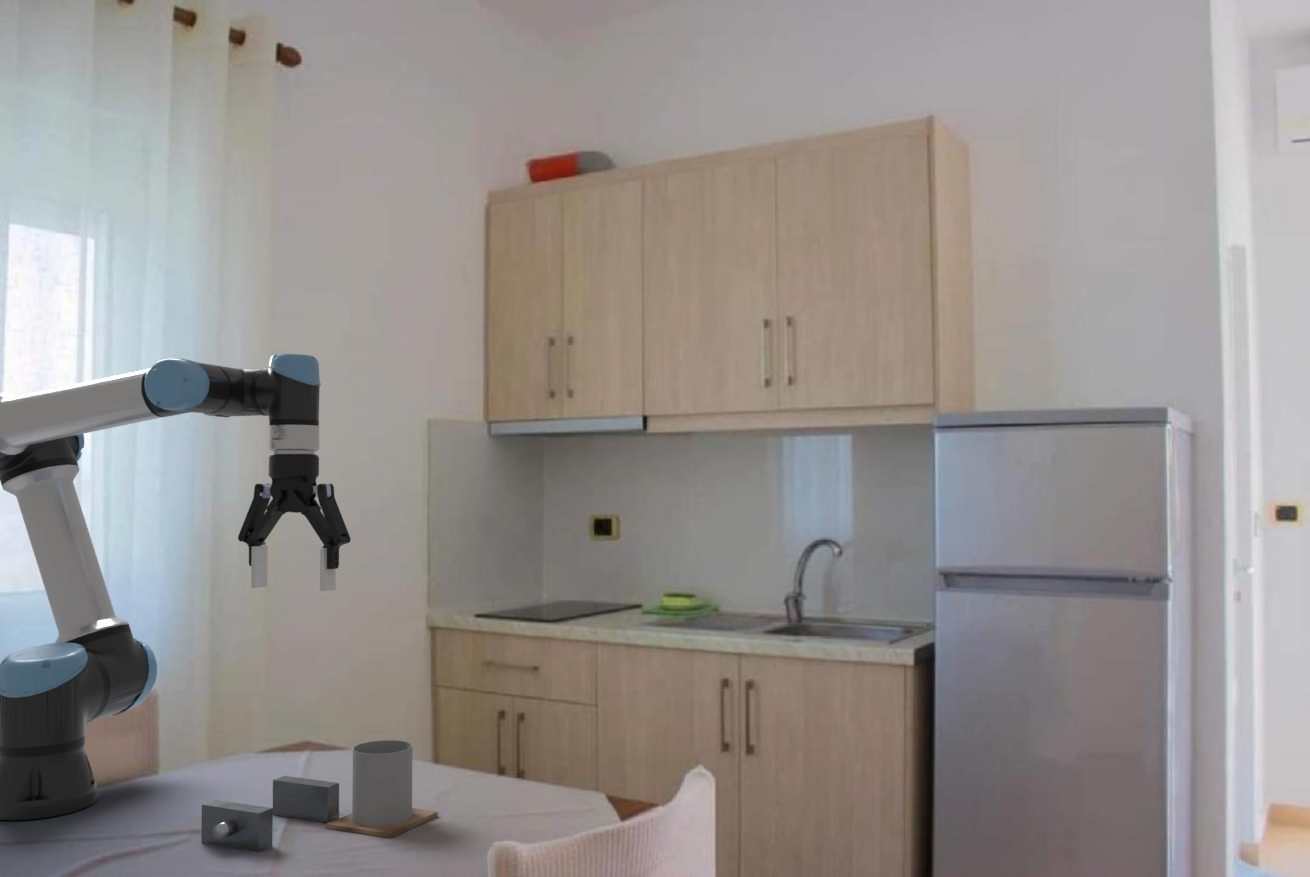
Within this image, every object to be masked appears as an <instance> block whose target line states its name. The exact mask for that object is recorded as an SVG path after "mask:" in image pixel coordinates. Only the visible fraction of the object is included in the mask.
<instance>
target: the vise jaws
mask: <svg viewBox="0 0 1310 877" xmlns="http://www.w3.org/2000/svg"><path fill="white" fill-rule="evenodd" d="M274 816H281V817H286V818H292V819H300V820H306V821H313V822H320V823H325V824H327V823H330V822H332V821H334V820H337V819H339V818H340V783H339V782H334V781H326V780H319V779H311V778H306V777H305V778H303V777H298V776H297V777H296V776H290V775H284V776H280V777H277V778H275V779H273V780H272V807H267V806H260V805H254V804H247V803H242V802H241V803H240V802H234V801H227V800H221V799H214V800H211V801H209V802H206V803H203V804H201V832H200V833H201V835H200V836H201V841H200V842H201V843H204V844H211V845H216V846H223V847H228V848H236V849H239V850H246V851H251V852H258V853H260V852H261V851H264V850H267V849H268V848H269V849H270V848H271V847H273V827H274V824H273V822H274V820H273V818H274Z"/></svg>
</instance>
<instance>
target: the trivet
mask: <svg viewBox="0 0 1310 877" xmlns="http://www.w3.org/2000/svg"><path fill="white" fill-rule="evenodd" d="M438 814H439V813H438V811H437V810H436V811H435V810H428V809H421V808H414V807H412V818H410V819H409V820H408V821H406V822H403V823H400V824H396V825H390V826H383V827H368V826H362V825H357V824H356V823H354V822H352V812H351V813H349V814H346V815H343V816H341V817H339V818H338V819H335V820H333V821H331V822H328V823H325V824H326V825H325V827H326V829H329V830H335V831H336V830H337V831H343V832H347V833H348V832H349V833H357V834H360V835H361V834H362V835H369V836H375V837H382V838H387V839H392V838H395V837H397V836H398V835H401V834H402V833H404V832H407V831H408V830H411V829H413V828H415V827H417V826H420V825H422V824H423V823H426V822H427V821H429V820H432V819H434V818H436V817H438Z"/></svg>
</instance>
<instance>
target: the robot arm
mask: <svg viewBox="0 0 1310 877" xmlns="http://www.w3.org/2000/svg"><path fill="white" fill-rule="evenodd" d="M320 378H321V377H320V363H319V361H318V359H317V357H315V356H313V355H309V354H303V353H302V354H301V353H280V354H279V353H278V354H273V355H271V357H270V359H269V364H268V367H265V368H264V367H263V368H234V367H229V366H222V365H215V364H210V363H204V362H199V361H195V360H191V359H186V358H165V359H162V360H159V361H157V362H156V363H155V364H154V365H152V366H151V367H150V368H147V369H143V370H142V369H141V370H138V371H134V372H133V371H132V372H128V373H124V374H119V375H113V376H108V377H104V378H100V379H94V380H90V381H85V382H80V383H75V384H70V385H67V386H61V387H57V388H56V387H55V388H53V389H46V390H42V391H37V392H31V393H29V394H23V395H19V396H15V395H12V394H9V393H6V392H1V393H0V485H1V488H2V490H3V491H5V492H6V493H9V494H11V495H13V496H15V497H16V500H17V503H18V507H19V510H20V513H21V516H22V518H23V522H24V526H25V529H26V532H27V536H28V539H29V542H30V546H31V547H32V552H33V554H34V557H35V561H36V565H37V566H38V568H37V569H38V570H39V573H40V577H41V581H42V583H43V586H44V590H45V594H46V597H47V600H48V602H49V606H50V609H51V612H52V615H53V619H54V623H55V624H56V629H57V630H58V635H57V636H58V637H57V638H56V640H55V642H53V643H52V642H51V643H46V644H42V645H34V646H30V647H25V648H23V649H19V650H17V651H14V652H12V653H10V654H8V655H7V656H6V657H5V658H3V660H1V662H0V821H26V820H34V819H35V820H36V819H44V818H50V817H51V818H52V817H56V816H60V815H66V814H70V813H73V812H77V811H80V810H83V809H85V808H88V807H89V806H91V805H93V804H94V803H96V801H97V800H98V796H97V795H98V784H97V781H96V779H95V776H94V773H93V772H94V771H93V769H92V767H91V764H90V761H89V758H88V755H87V753H86V744H85V743H86V741H85V739H86V724H87V723H90V722H94V721H97V720H101V719H103V718H107V717H111V716H113V717H114V716H117V715H120V714H122V713H126V712H127V711H129V710H131V709H134V708H135V707H137V706H139V705H141V704H142V703H143V702H144V701H145V700H146V699H147V698H148V697H149V695H150V694H151V691H152V689H153V688H154V686H155V684H156V681H157V675H158V662H157V659H156V656H155V654H154V651H153V650H152V648H151V647H150V646H149V645H148V644H147V643H144V642H143V641H142V640H141V639H138V638H136V637H135V638H134V636H133V633H132V630H131V627H130V623H129V622H128V621H125V620H124V619H122V618H120V617H118V616H117V615H116V613H115V610H114V607H113V605H112V600H111V598H110V595H109V591H108V588H107V586H106V581H105V578H104V576H103V573H102V569H101V566H100V562H99V560H98V557H97V553H96V550H95V548H94V543H93V541H92V538H91V535H90V531H89V528H88V525H87V521H86V519H85V515H84V512H83V509H82V507H81V502H80V500H79V496H78V494H77V491H76V487H75V484H74V480H75V479H76V476H77V475H78V474H79V472H80V467H79V463H78V461H79V460H80V459H81V457H82V454H83V452H82V449H84V448H85V436H84V434H88V433H92V432H97V431H98V432H99V431H102V430H107V429H111V428H112V429H113V428H117V427H122V426H126V425H131V424H136V423H141V422H146V421H151V420H155V419H161V418H167V417H172V416H178V415H183V414H188V413H195V414H196V413H198V414H199V413H200V414H203V415H205V416H209V417H217V418H231V417H253V416H254V417H255V416H256V417H257V416H265V417H267V416H268V418H269V420H268V421H269V422H268V424H269V426H268V427H269V429H268V431H269V433H268V434H269V435H268V436H269V437H268V438H269V439H268V443H269V444H268V447H269V449H268V450H270V451H272V454H269V456H268V476H269V478H271V484H270V483H256V484H255V485H254V491H253V497H252V501H251V502H250V506H249V508H248V511H247V513H246V516H245V518H244V521H243V524H242V526H241V528H240V531H239V534H238V536H237V539H238V541H239V542H244V543H245V544H246V545H247V546H248V565H249V566H250V568H251V572H250V573H251V574H250V578H251V579H250V580H251V581H250V582H251V583H250V584H251V586H250V588H251V589H258V588H266V587H268V545H266V542H265V541H266V540H267V538H268V537H269V536H270V534H271V533H272V531H273V529H274V528H275V527H276V525H277V523H278V522H279V521H280V519H281V518H282V516H283V515H285V514H286V513H294V514H295V513H299V514H300V513H301V515H303V516H304V517H305V518H306V519H307V521H308V522H309V524H310V525H311V527H312V529H313V530H314V532H315V533H316V535H317V537H318V538H319V540H320V541H321V542H322V544H323V546H321V548H319V592H330V591H335V590H336V577H337V576H336V573H337V572H336V569H339V566H340V548H341V547H342V546H344V545H345V544H349V543H351V536H350V533H349V531H348V529H347V526H346V523H345V521H344V518H343V515H342V513H341V510H340V508H339V506H338V503H337V500H336V497H335V487H334V484H333V483H319V484H317V478H318V477H319V474H320V456H318V454H316V452H318V451H319V450H320V420H319V418H320V387H321V385H322V384H321V381H320ZM271 497H272V499H271ZM316 497H317V499H318V502H317V500H316Z"/></svg>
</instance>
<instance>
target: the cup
mask: <svg viewBox="0 0 1310 877" xmlns="http://www.w3.org/2000/svg"><path fill="white" fill-rule="evenodd" d="M351 805H352V806H351V808H352V812H351V813H352V822H354V823H356V824H357V825H362V826H368V827H383V826H390V825H396V824H400V823H403V822H406V821H408V820H409V819H410V818H412V808H413V743H412V742H408V741H404V740H397V739H389V740H388V739H382V740H381V739H380V740H372V741H367V742H362V743H359V744H357V745H355V746H352V804H351Z"/></svg>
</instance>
